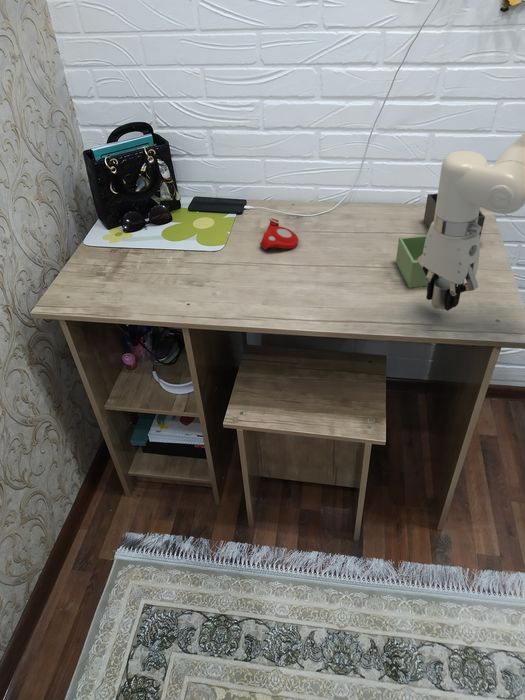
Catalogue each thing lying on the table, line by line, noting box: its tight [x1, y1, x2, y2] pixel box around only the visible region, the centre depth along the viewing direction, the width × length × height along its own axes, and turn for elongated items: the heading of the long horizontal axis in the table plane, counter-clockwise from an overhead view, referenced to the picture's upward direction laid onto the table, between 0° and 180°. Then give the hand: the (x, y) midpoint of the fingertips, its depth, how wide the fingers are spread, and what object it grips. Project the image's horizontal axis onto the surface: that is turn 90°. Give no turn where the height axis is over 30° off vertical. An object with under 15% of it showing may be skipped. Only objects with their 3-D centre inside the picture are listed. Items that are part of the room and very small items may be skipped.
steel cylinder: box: [430, 278, 450, 310], centre depth 115 cm, size 4×4×5 cm
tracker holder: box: [259, 218, 299, 250], centre depth 142 cm, size 12×4×10 cm
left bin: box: [395, 234, 443, 289], centre depth 128 cm, size 10×9×7 cm
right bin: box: [423, 192, 486, 237], centre depth 139 cm, size 13×9×8 cm
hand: (441, 301), depth 116 cm, fingers closed on steel cylinder, 4 cm apart
